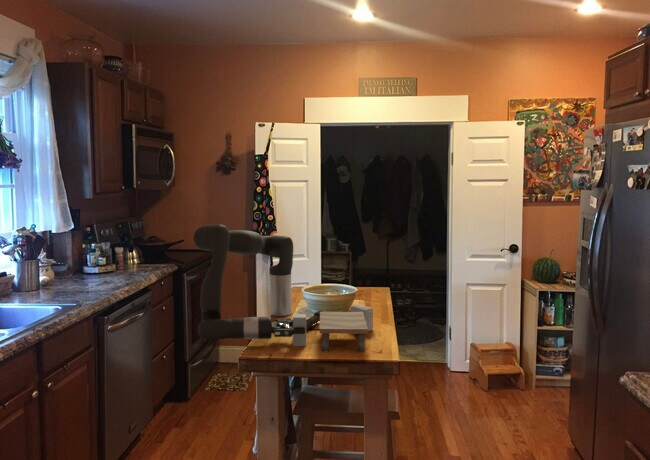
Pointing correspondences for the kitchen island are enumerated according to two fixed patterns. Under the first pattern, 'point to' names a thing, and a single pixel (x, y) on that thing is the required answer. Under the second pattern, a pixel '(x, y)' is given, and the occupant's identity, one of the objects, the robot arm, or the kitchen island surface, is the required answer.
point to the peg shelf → (343, 326)
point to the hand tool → (313, 320)
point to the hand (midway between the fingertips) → (304, 326)
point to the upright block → (299, 321)
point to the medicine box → (365, 314)
